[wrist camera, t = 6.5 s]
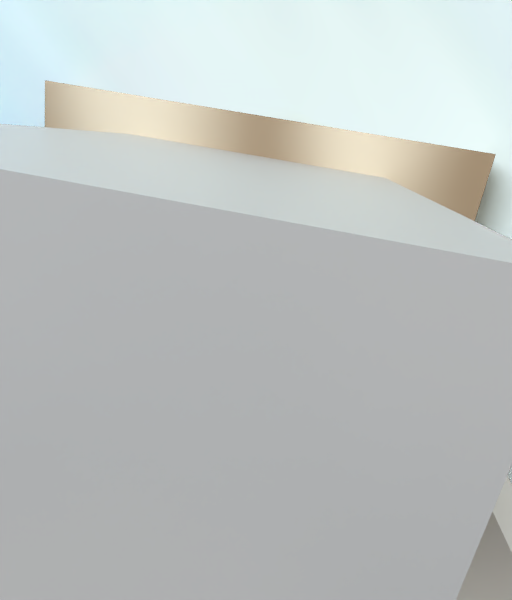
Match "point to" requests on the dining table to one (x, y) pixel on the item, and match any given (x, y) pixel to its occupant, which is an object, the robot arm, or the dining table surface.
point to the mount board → (279, 141)
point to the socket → (241, 376)
